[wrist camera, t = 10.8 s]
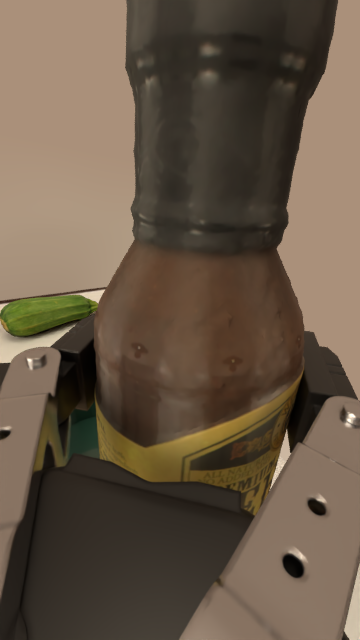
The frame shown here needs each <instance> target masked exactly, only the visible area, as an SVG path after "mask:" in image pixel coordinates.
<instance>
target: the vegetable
mask: <svg viewBox="0 0 360 640" xmlns="http://www.w3.org/2000/svg"><path fill="white" fill-rule="evenodd" d="M97 307H98V303H96V302H95V301H92V300H90V299H87V298H85V297H83V296H81V295H67V296H57V297H45V298H31V299H23V300H18V301H14V302H12V303H9V304H8V305H6V306H5V307H4V308H3V309H2V310H1V313H0V321H1V324H2V325H3V328H4V329H5V330H6V331H7V332H8V333H10V334H11V335H13V336H17V337H23V336H29V335H33V334H36V333H39V332H41V331H44V330H47V329H50V328H52V327H55V326H58V325H60V324H63V323H66V322H69V321H72V320H76V319H82V318H86V317H88V316H89V315H90V314H91V313H93V312H94V311H96V310H97Z"/></svg>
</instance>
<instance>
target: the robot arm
mask: <svg viewBox="0 0 360 640" xmlns="http://www.w3.org/2000/svg"><path fill="white" fill-rule="evenodd" d="M94 317H95V314H93V315H91V316H89V317H86V318H84V319H82V320H81V321H80V322H79V323H78V324H76V325H75V327H73V328H72V329H71V330H69V332H67V333H66V334H65V335H64V336H62V337H61V338H60V339H59V340H58V341H56V342H55V343H54V344H53V345H52V346H51V347H38V348H32V349H29V350H26V351H23V352H21V353H20V354H18V355H17V356H15V357H14V358H13V360H12V361H11V363H0V640H349V638H348V637H347V635H346V634H345V632H344V628H345V623H346V619H347V615H348V610H349V606H350V602H351V597H352V593H353V589H354V584H355V580H356V575H357V571H358V567H359V562H360V401H359V400H358V398H357V396H356V394H355V392H354V390H353V388H352V386H351V384H350V382H349V380H348V377H347V376H346V373H345V371H344V369H343V368H342V365H341V362H340V361H339V359H338V357H337V356H336V355H335V354H334V353H333V352H332V351H331V350H330V349H329V348H327V347H320V346H319V344H318V342H317V340H316V338H315V334H314V332H309V331H304V341H305V343H304V353H303V357H304V360H305V361H304V370H303V374H302V377H301V380H300V384H299V387H298V391H297V394H296V399H295V403H294V407H293V410H292V412H291V416H290V420H289V424H288V426H287V431H288V439H289V446H290V453H291V455H290V457H289V458H288V460H287V462H286V463H285V465H284V467H283V469H282V470H281V472H280V474H279V476H278V477H277V479H276V481H275V483H274V484H273V486H272V488H271V489H270V491H269V493H268V495H267V496H266V498H265V500H264V502H263V503H262V505H261V507H260V509H259V510H258V512H257V514H256V515H253V514H252V513H250V512H249V511H247V510H245V509H243V508H241V491H236V490H232V489H228V488H223V487H219V486H215V485H211V484H206V483H202V482H198V481H187V482H150V481H147V480H145V479H143V478H141V477H139V476H137V475H135V474H134V473H132V472H130V471H128V470H126V469H124V468H122V467H121V466H119V465H117V464H115V463H113V462H111V461H107V460H102V459H98V458H94V457H89V456H85V455H81V454H76V453H73V455H72V456H71V458H70V459H69V449H70V437H71V424H72V419H71V413H72V412H73V410H74V409H80V410H85V411H88V410H89V408H90V407H91V405H92V404H93V403H94V401H95V384H96V380H97V376H96V374H97V370H96V352H95V348H94V320H95V319H94Z"/></svg>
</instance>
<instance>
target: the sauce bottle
mask: <svg viewBox="0 0 360 640" xmlns="http://www.w3.org/2000/svg"><path fill="white" fill-rule="evenodd" d="M337 4H338V0H127V30H126V31H127V32H126V34H127V35H126V67H125V68H126V71H127V73H128V76H129V80H130V85H131V87H132V89H133V96H134V101H135V145H134V157H135V174H136V175H135V177H136V190H135V198H134V201H133V204H132V206H131V212H132V216H133V219H134V226H133V230H132V231H133V234H134V237H135V240H134V242H133V243H132V245H131V247H130V248H129V250H128V252H127V253H126V255H125V257H124V258H123V260H122V262H121V264H120V266H119V268H118V269H117V271H116V273H115V274H114V276H113V277H112V280H111V281H110V283H109V285H108V286H107V288H106V290H105V291H104V293H103V295H102V297H101V299H100V301H99V304H98V307H97V311H96V313H95V317H94V319H95V320H94V348H95V352H96V370H97V374H96V376H97V380H96V384H95V404H96V417H97V430H98V442H99V453H100V459H102V460H107V461H111V462H113V463H115V464H117V465H119V466H121V467H122V468H124V469H126V470H128V471H130V472H132V473H134V474H135V475H137V476H139V477H141V478H143V479H145V480H147V481H150V482H187V481H198V482H202V483H206V484H211V485H215V486H219V487H223V488H228V489H232V490H236V491H241V508H243V509H245V510H247V511H249V512H250V513H252V514H253V515H256V514H257V512H258V510H259V509H260V507H261V505H262V503H263V502H264V500H265V498H266V496H267V495H268V493H269V490H270V487H271V483H272V478H273V475H274V472H275V469H276V466H277V461H278V458H279V454H280V450H281V447H282V443H283V440H284V437H285V433H286V429H287V426H288V424H289V420H290V416H291V412H292V410H293V407H294V403H295V399H296V394H297V391H298V387H299V384H300V380H301V377H302V374H303V370H304V361H305V360H304V357H303V353H304V343H305V341H304V324H303V316H302V311H301V309H300V307H299V304H298V300H297V297H296V296H295V294H294V291H293V289H292V286H291V282H290V279H289V277H288V276H287V273H286V271H285V269H284V266H283V264H282V261H281V259H280V256H279V254H278V252H277V249H276V248H277V246H278V245H279V244H280V243H281V241H282V237H283V233H284V230H285V229H286V227H287V225H288V212H287V209H286V207H287V203H288V199H289V192H290V187H291V181H292V175H293V170H294V165H295V160H296V156H297V153H298V150H299V143H300V138H301V131H302V127H303V120H304V116H305V113H306V109H307V105H308V101H309V99H310V98H311V97H312V95H313V94H314V92H315V90H316V88H317V86H318V84H319V82H320V79H321V77H322V75H323V74H324V72H325V69H326V64H327V58H328V53H329V47H330V44H331V40H332V36H333V32H334V23H335V16H336V10H337Z"/></svg>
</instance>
